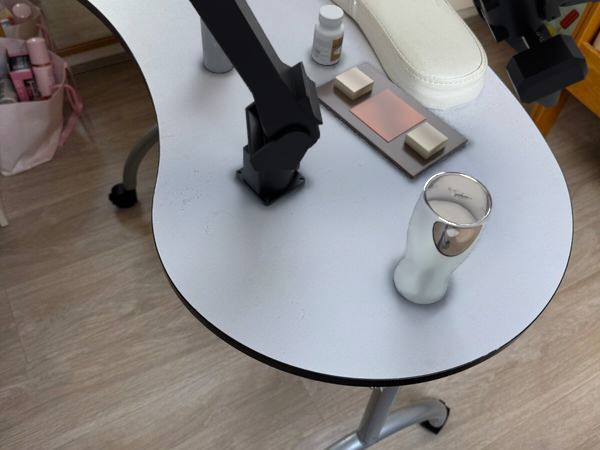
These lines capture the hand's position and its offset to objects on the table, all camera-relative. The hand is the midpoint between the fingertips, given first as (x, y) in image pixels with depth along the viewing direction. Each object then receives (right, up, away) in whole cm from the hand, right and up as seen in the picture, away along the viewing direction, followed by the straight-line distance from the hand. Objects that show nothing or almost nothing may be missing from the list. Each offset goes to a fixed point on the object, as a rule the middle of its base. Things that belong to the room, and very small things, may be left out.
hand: (536, 77), depth 65 cm
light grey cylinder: (-38, +7, +22) cm, 44 cm away
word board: (-14, -1, +17) cm, 22 cm away
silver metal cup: (-13, -23, +2) cm, 26 cm away
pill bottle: (-22, +9, +24) cm, 34 cm away
